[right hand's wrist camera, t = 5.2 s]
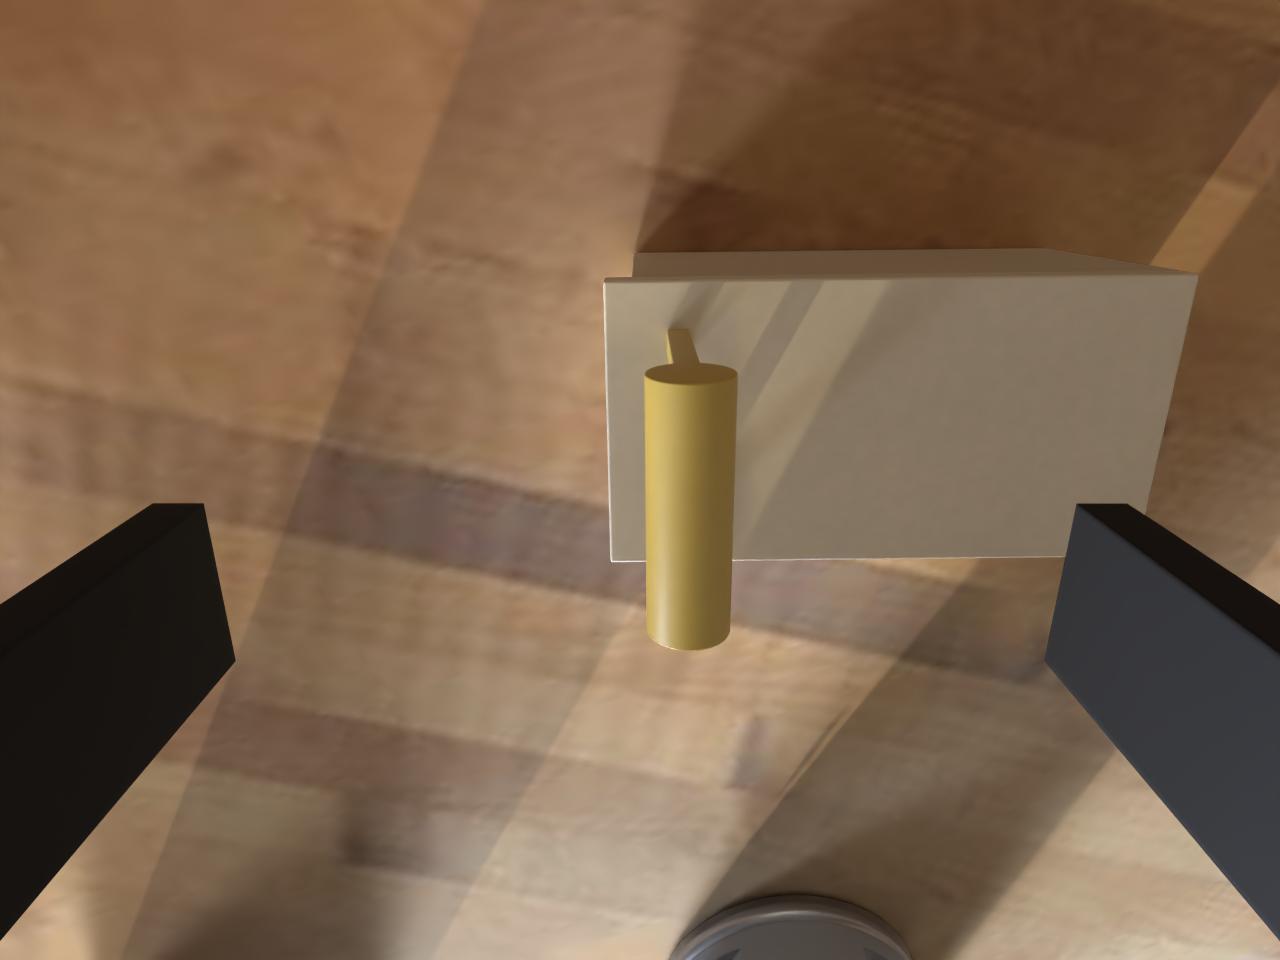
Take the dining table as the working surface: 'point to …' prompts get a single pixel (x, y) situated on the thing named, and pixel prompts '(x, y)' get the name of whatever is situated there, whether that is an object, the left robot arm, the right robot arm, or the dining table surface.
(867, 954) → the left robot arm
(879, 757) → the dining table surface
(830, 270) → the chest
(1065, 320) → the lid
